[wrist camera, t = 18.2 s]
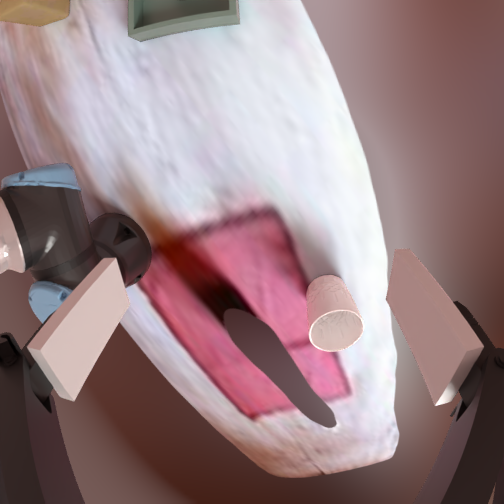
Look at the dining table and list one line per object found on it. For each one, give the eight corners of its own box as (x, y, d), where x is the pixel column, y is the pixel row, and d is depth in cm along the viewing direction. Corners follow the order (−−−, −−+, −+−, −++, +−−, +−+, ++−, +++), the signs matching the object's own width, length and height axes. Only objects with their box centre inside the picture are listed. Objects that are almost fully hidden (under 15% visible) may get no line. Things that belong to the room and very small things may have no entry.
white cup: (297, 277, 56) (303, 317, 45) (345, 265, 54) (361, 303, 43) (307, 315, 59) (314, 356, 49) (351, 304, 58) (365, 343, 47)
